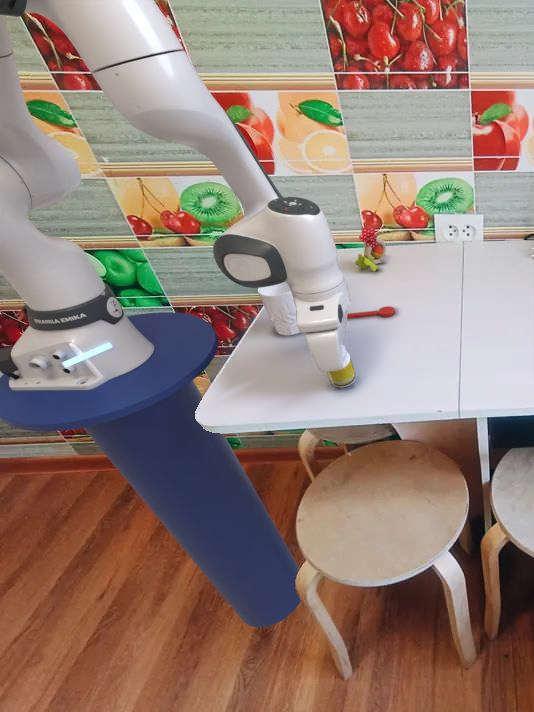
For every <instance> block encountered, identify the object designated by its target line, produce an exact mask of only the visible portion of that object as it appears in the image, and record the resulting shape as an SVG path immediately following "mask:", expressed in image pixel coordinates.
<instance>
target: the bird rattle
mask: <svg viewBox="0 0 534 712" xmlns="http://www.w3.org/2000/svg"><path fill="white" fill-rule="evenodd" d="M358 239H359V241H360V242H362V243H364V245H365V246H364V250H363V254H362V253H358V255H357V256H358V258H357V259H356V261H355V263H354V264H355V265H356V266H358V267H361V268H362V269H363V270H367V269H368V268H370V270H371V271H372V272H376V271H379V270H380V269H379V267H378V266H377V265H378V264H382V263H383V260H384V258H385V256H386V252H387V245H386V243H385V241H384V240H383V239H382V238H380V237H379V233H376V228H374V227H370V228H367V227H361V234H360V235H359V236H358Z"/></svg>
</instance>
